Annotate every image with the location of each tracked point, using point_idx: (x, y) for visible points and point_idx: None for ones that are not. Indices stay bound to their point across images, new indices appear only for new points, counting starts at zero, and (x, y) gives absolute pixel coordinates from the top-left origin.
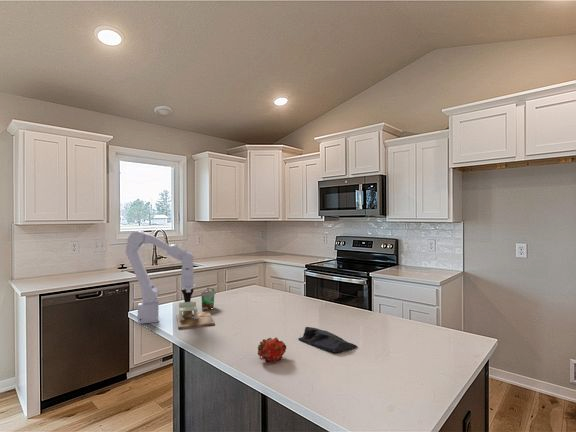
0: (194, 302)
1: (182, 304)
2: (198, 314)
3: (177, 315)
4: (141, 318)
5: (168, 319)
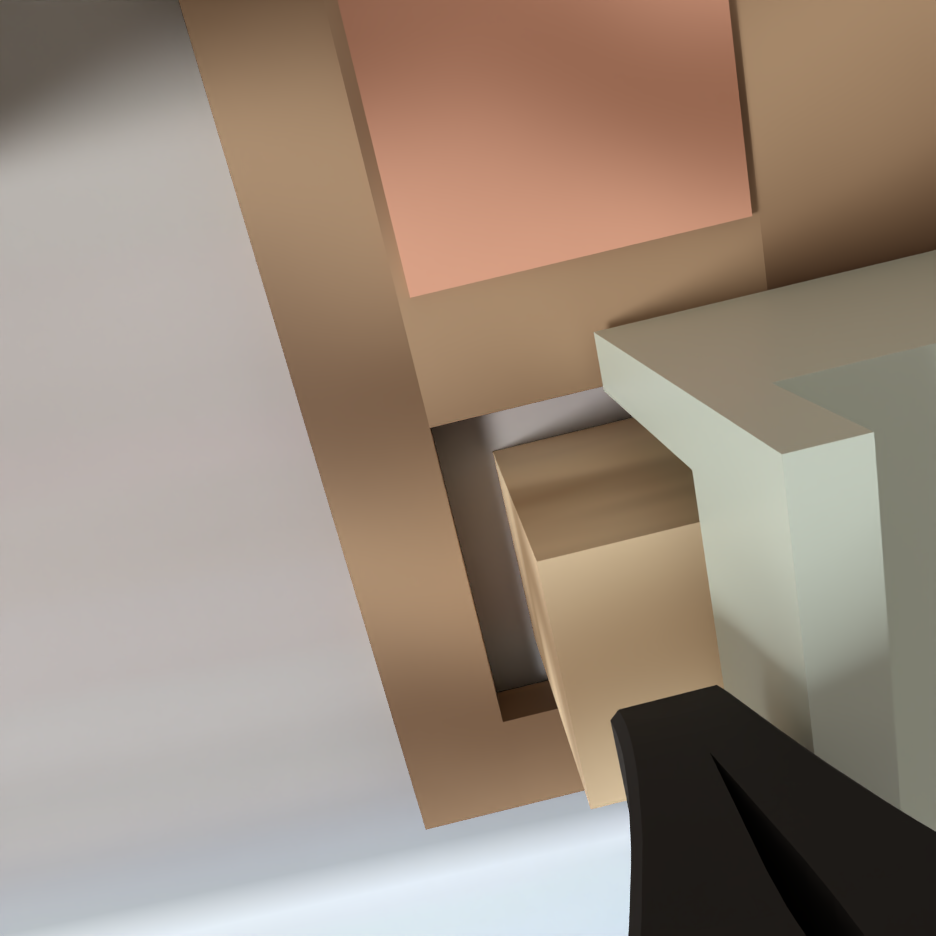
0: (861, 497)
1: None
2: (532, 258)
3: (490, 793)
4: None
5: (595, 897)
